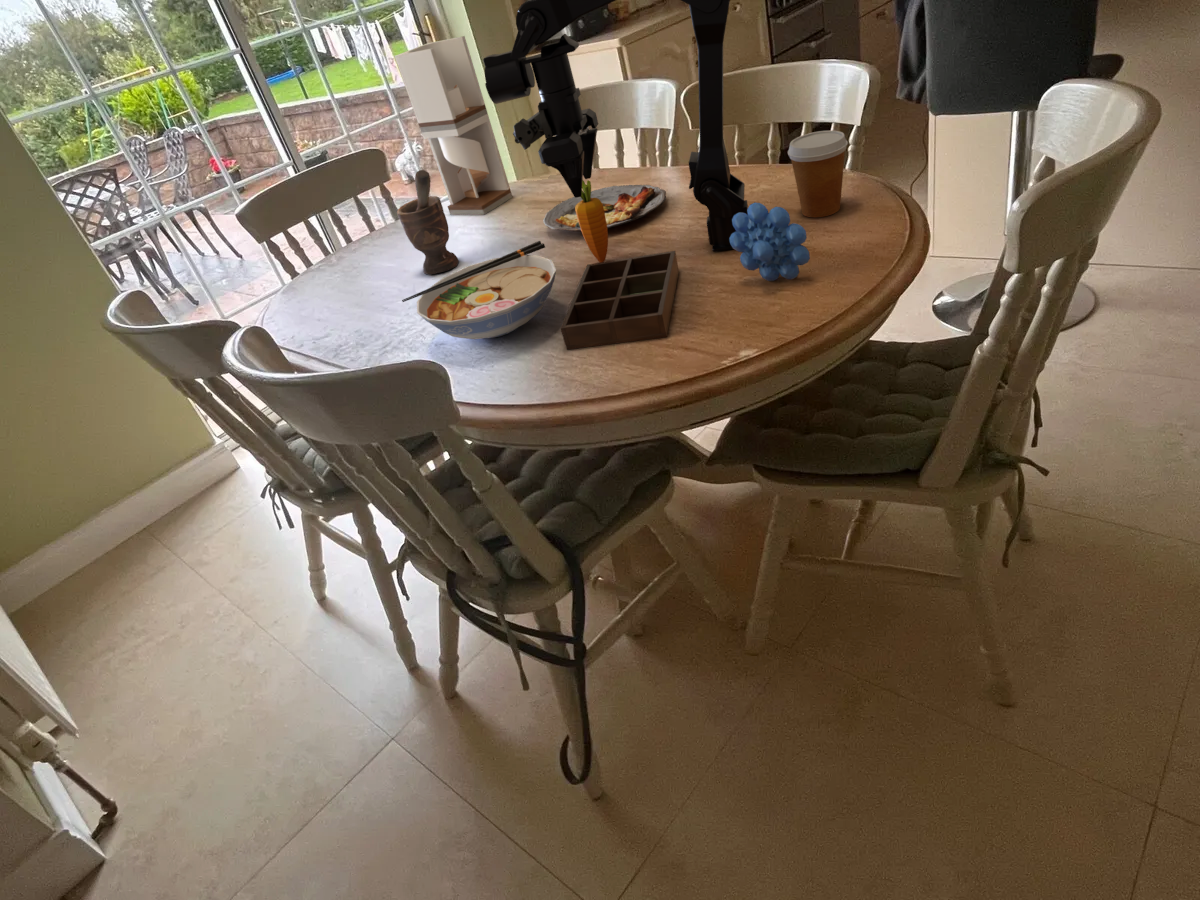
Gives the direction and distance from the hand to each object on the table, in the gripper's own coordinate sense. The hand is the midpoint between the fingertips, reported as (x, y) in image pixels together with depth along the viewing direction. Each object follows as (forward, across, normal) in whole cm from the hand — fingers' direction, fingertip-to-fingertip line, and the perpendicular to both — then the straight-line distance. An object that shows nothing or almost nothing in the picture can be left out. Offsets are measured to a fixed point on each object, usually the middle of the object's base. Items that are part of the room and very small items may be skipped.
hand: (583, 187), depth 125 cm
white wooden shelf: (+13, -47, -38) cm, 62 cm away
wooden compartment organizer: (+14, +20, +7) cm, 25 cm away
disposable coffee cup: (+15, -8, +38) cm, 41 cm away
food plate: (+14, -24, -3) cm, 28 cm away
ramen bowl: (+14, +20, -14) cm, 28 cm away
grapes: (+14, +18, +29) cm, 37 cm away
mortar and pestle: (+13, -10, -34) cm, 38 cm away
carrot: (+14, 0, 0) cm, 14 cm away
